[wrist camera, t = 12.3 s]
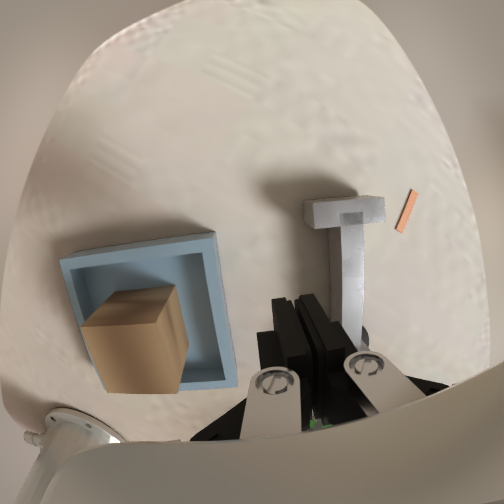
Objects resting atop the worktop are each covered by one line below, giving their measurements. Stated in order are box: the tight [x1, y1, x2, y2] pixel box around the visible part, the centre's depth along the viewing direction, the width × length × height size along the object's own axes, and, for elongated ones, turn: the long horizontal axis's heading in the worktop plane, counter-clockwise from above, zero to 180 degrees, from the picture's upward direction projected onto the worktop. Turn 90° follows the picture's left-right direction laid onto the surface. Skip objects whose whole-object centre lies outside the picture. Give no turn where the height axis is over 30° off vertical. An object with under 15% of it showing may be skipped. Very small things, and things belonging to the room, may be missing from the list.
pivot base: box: [361, 190, 418, 347], centre depth 22 cm, size 6×18×1 cm, turn 146°
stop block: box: [80, 285, 189, 394], centre depth 17 cm, size 5×5×6 cm
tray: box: [59, 232, 238, 391], centre depth 20 cm, size 12×12×2 cm
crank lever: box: [303, 195, 385, 352], centre depth 20 cm, size 15×5×3 cm, turn 6°
